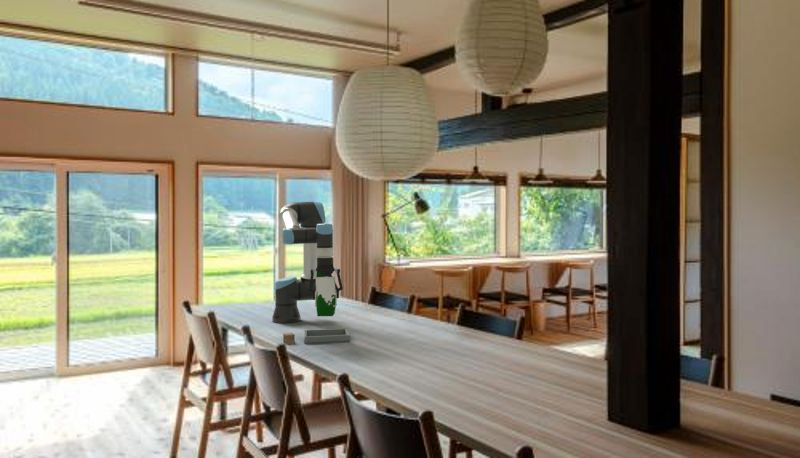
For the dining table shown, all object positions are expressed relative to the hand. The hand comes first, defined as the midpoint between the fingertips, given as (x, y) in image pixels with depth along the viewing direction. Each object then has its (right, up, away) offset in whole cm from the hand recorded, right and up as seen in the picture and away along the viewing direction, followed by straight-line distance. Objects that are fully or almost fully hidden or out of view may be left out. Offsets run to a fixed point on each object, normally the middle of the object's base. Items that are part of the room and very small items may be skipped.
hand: (325, 305), depth 283 cm
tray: (0, -16, +1) cm, 16 cm away
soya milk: (0, -5, 0) cm, 5 cm away
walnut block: (-16, -16, -6) cm, 23 cm away
